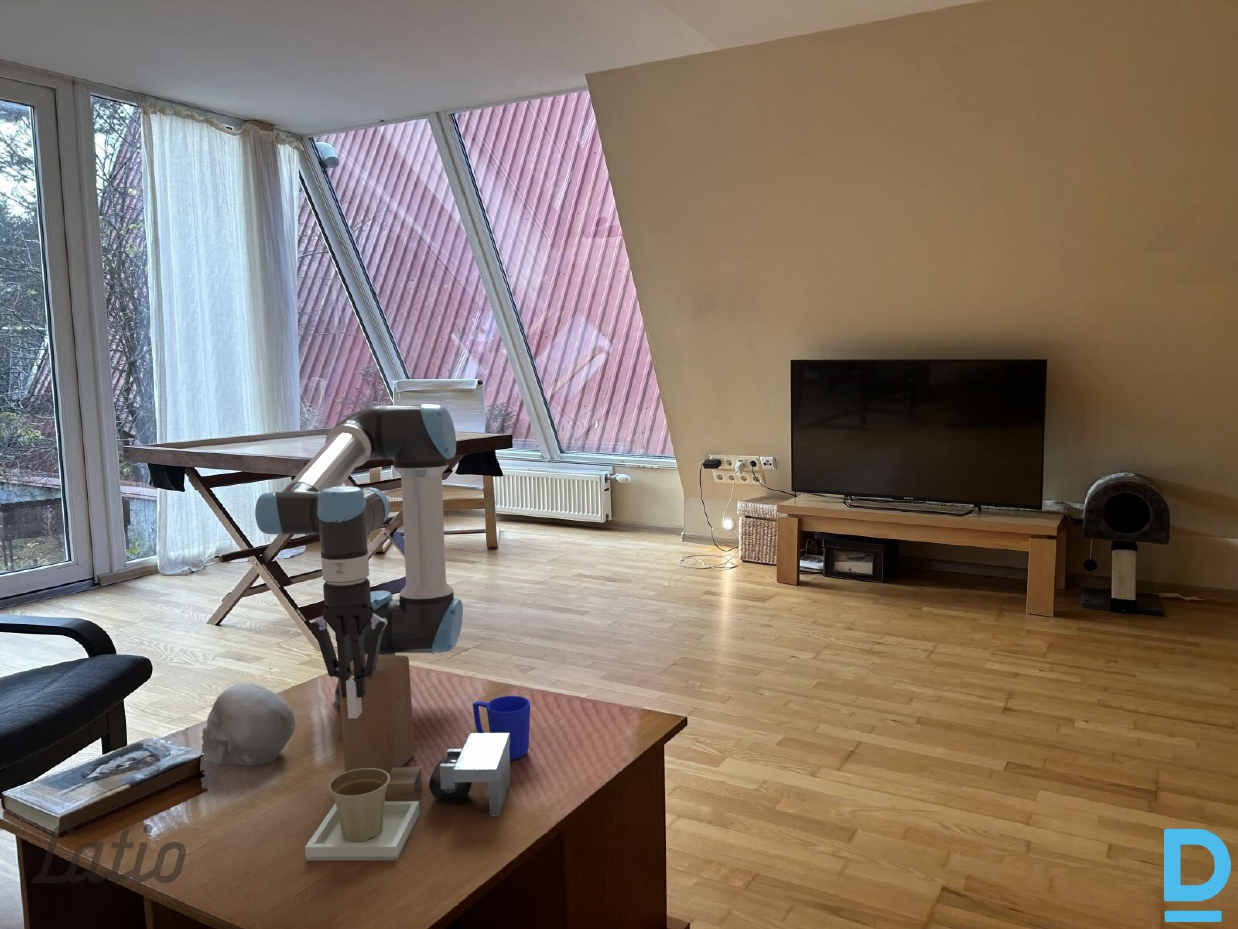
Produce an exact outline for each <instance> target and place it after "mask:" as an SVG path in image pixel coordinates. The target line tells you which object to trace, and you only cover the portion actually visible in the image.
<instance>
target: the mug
mask: <svg viewBox="0 0 1238 929" xmlns="http://www.w3.org/2000/svg"><path fill="white" fill-rule="evenodd" d="M480 707H482V708H485V709H486V714H487V721H488V728H489V733H510V746H509V755H510V761H511V760H512V761H515V760H517V759H520V758H523V757H524V756H525V755H526V754H528V751H529V746H530V727H531V726H530V724H531V722H530V720H531V701H530V700H529V698H526V697H523V696H520V695H519V696H518V695H507V696H506V695H505V696H500V697H497V698H493V699H491V700H490V701H489V702H487V701H474V702H473V704H472V711H473V716H474V717H473V718H474V724H475V728H476V733H485V732H484V729H483V726H482V722H481V714H480Z"/></svg>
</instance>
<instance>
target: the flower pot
mask: <svg viewBox="0 0 1238 929" xmlns="http://www.w3.org/2000/svg"><path fill="white" fill-rule="evenodd" d="M389 781H390V776H389V774H388V773H387V772H386V771H384V770H381V769H376V768H360V769H354V770H350V771H347V772H346V771H344V772H341V773H340V774H337V775H336V776H334V777H333V778H332V779H331V780H330V782H329V783H328V791H329V793H330V794H331V796H332V798H333V800H334V802H335V803H336V807H337V812H338V816H339V820H340V825H341V830H342V835H343V836H344V837H345V838H346V839H347V840H349V841H366V840H368V839H369V838H370V837H376V836H377V835H379V834H380V833H381V831H382V829H383V814H384V803H385V792H386V790H387V785H388V783H389ZM335 803H334V804H335Z"/></svg>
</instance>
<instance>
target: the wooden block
mask: <svg viewBox="0 0 1238 929" xmlns="http://www.w3.org/2000/svg"><path fill="white" fill-rule="evenodd" d="M367 657H368V654H365V666H366V663H367ZM350 667H351V671H352V673H351V674H350V676H354V664H353V661H352V662H350ZM410 672H411V670H410V659H409V656H408V655H407V656H406V655H397V654H395V655H378V661H377V666H376V670H375V671H374V672H373V674H372V675H371V676H367V677H365V681H366V694H365V695H364V696H363V698H361V703H362V713H361V714H360V715H359V716H358V718H348V705H347V698H343V697H342V695H341V682H340V679H339V678H337V681H338V680H339V694H340V707H339V709H340V718H341V720H340V721H341V733H342V735H341V736H342V747H343V749H342V750H343V751H342V752H343V762H344V772H347V771H350V770H354V769H360V768H376V769H381V770H384V771H386V772H387V773H388V774H390V772H391V770H392V768H400V767H405V765H406V764H407V763H408V762H409V761H410V760H411V759H412V758H413V756H414V754H415V741H414V739H415V738H414V721H413V720H414V719H413V707H412V706H413V705H412V704H413V703H412V690H411V689H412V688H411V687H412V686H411V674H410Z"/></svg>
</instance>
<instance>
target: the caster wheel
mask: <svg viewBox="0 0 1238 929" xmlns="http://www.w3.org/2000/svg"><path fill="white" fill-rule="evenodd" d="M509 746H510V733H490V732H484V733H478V732H472V733H471V732H470V734H469V735H468V738H467V739H466V742H465V744H464V746H463V748H448V749H447V751H446V754H447V755H446V756H444V757H442V758H441V759H440V760H438V762H437V763H436V766H435V768H434V769H433V771H432V773H431V775H430V778H429V782H428V783H429V784H428V787H429V791H430V793H431V795H432V796H433V798H434V799H435V800H436V801H438V802H440V803H442V804H444V805H451V806H452V805H457V804H459V803H461V802H463V801H464V800H465V799H466V798H467V797H468V795H469V793H470V792H471V789H472V786H473V784H474V783H487V784H488V785H487V786H488V787H487V788H488V805H489V806H488V808H489V809H488V810H489V816H490V815H491V816H490V817H500V816H501V813H500V812H502V810H503V807H504V803H505V800H506V798H507V795H508V792H507V790H508V791H509V789H508V788H510V786H511V785H510V784H511V783H510V782H512V781H511V780H512V778H511V760H510V755H509ZM509 785H510V786H509ZM506 794H507V795H506ZM505 797H506V798H505ZM501 809H502V810H501ZM493 815H495V816H493ZM497 815H498V816H497ZM499 815H500V816H499Z"/></svg>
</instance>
